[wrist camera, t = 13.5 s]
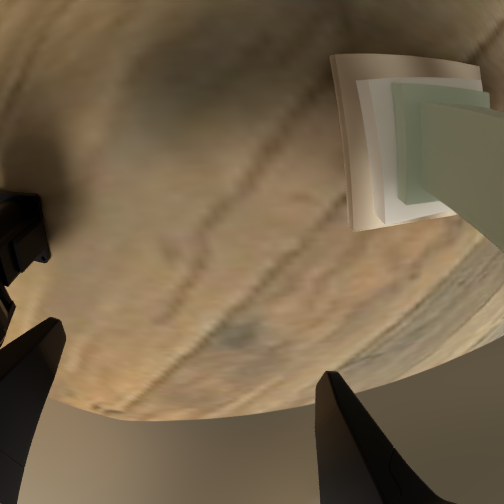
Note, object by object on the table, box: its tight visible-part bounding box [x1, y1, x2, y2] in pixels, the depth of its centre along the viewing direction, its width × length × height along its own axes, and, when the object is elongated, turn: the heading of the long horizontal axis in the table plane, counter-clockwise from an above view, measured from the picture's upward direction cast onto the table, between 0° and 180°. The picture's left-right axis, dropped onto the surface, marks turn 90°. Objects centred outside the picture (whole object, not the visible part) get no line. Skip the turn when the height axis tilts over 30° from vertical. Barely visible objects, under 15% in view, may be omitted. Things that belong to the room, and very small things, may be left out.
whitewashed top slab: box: [356, 77, 483, 225], centre depth 15 cm, size 9×9×2 cm
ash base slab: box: [329, 54, 481, 232], centre depth 17 cm, size 12×12×2 cm
